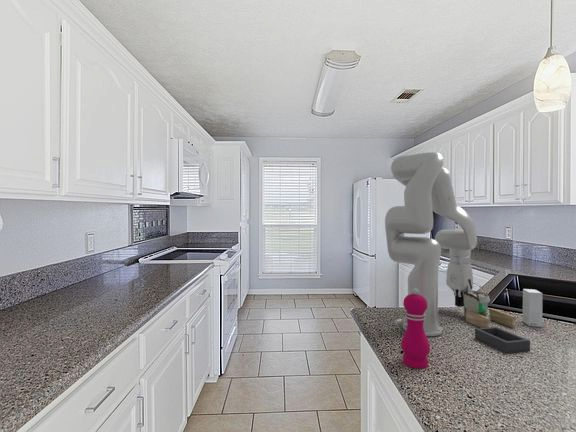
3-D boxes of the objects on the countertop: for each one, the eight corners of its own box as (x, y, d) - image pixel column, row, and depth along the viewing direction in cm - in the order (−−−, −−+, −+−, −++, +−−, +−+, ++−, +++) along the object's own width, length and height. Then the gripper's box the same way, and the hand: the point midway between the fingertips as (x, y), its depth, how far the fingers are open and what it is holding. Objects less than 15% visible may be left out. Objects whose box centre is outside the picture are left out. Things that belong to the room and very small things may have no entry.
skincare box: (542, 327, 117) (543, 293, 117) (528, 326, 118) (528, 292, 118) (535, 322, 123) (535, 289, 123) (522, 320, 124) (522, 288, 124)
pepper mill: (427, 372, 84) (427, 292, 84) (397, 365, 88) (397, 289, 88) (432, 361, 90) (432, 287, 90) (404, 355, 94) (404, 284, 94)
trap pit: (506, 353, 95) (506, 342, 95) (474, 338, 107) (474, 328, 107) (530, 350, 97) (530, 340, 97) (496, 336, 109) (496, 326, 109)
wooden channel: (487, 330, 114) (487, 318, 114) (465, 321, 124) (465, 310, 124) (515, 327, 116) (515, 316, 116) (492, 318, 126) (492, 308, 126)
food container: (497, 325, 119) (497, 297, 119) (479, 325, 119) (479, 297, 119) (478, 315, 131) (478, 289, 131) (462, 315, 131) (462, 289, 131)
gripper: (439, 258, 141) (439, 301, 141) (465, 263, 127) (465, 312, 127) (454, 257, 143) (454, 300, 143) (482, 262, 128) (482, 310, 128)
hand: (459, 306), depth 135 cm, fingers closed
